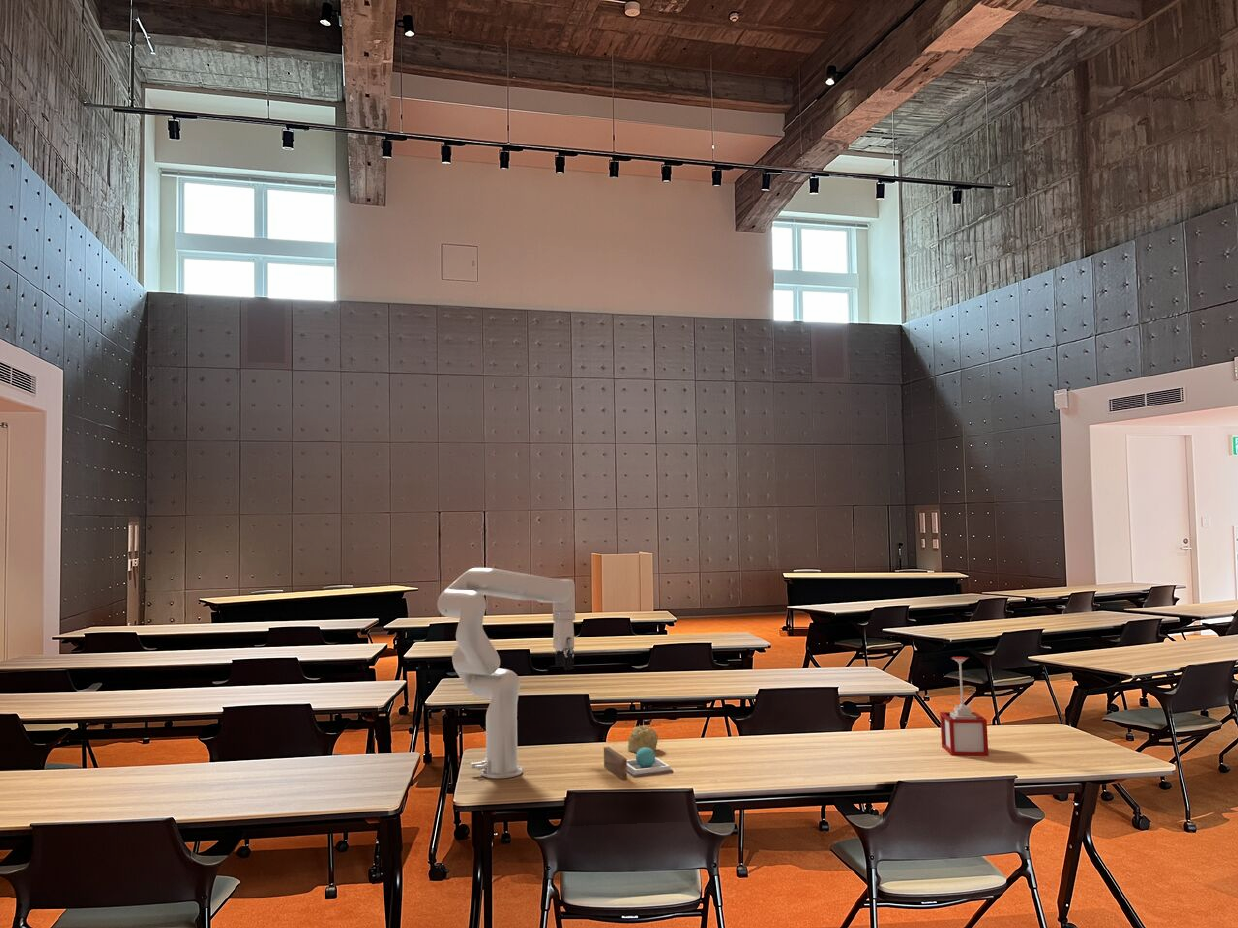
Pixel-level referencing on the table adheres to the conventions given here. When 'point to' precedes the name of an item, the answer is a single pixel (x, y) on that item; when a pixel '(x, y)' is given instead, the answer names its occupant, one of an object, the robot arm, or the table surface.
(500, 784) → the table surface
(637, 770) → the grey square tray
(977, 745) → the pendant light
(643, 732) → the rock
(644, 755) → the ball
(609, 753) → the low wall
